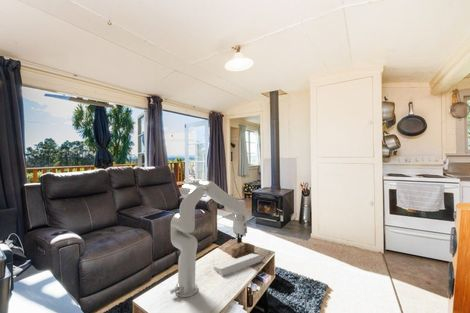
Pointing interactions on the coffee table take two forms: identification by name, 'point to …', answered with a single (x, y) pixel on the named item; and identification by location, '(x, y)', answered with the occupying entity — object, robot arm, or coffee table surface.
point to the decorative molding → (237, 264)
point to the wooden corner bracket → (243, 249)
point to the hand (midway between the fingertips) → (239, 242)
